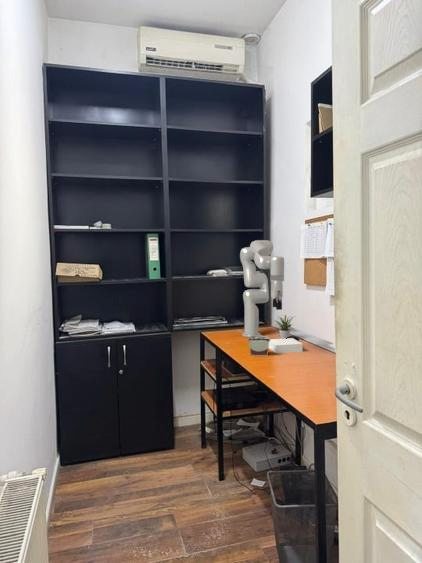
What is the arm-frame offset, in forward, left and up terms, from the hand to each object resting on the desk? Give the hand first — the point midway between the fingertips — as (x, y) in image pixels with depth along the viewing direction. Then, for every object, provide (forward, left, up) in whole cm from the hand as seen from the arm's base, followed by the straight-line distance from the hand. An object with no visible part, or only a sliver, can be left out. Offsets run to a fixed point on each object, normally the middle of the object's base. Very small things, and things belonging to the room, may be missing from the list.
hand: (277, 308), depth 218 cm
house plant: (-27, +17, -25) cm, 41 cm away
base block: (-3, +6, -26) cm, 27 cm away
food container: (+3, -12, -25) cm, 28 cm away
